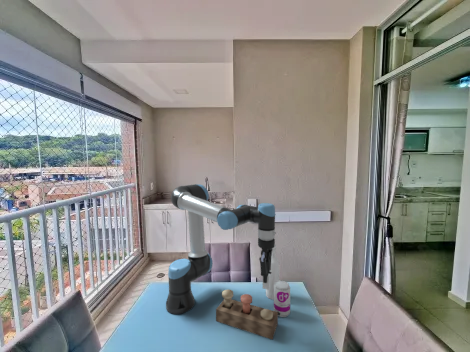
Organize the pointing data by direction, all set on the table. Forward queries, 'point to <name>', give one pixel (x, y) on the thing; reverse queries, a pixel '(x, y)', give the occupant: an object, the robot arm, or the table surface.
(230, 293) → the maple plug
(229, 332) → the table surface
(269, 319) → the maple plug
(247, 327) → the socket board
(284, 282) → the supplement can
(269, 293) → the bottle
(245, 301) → the brick-red plug
